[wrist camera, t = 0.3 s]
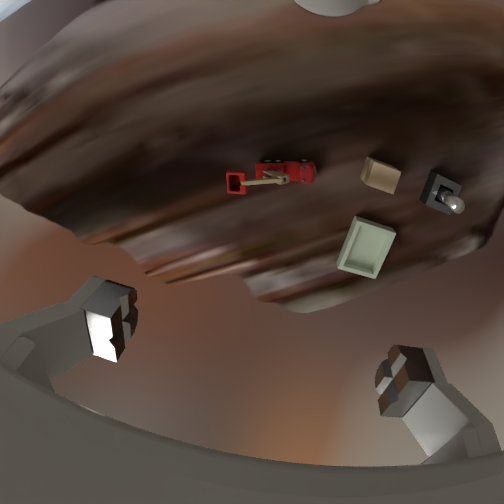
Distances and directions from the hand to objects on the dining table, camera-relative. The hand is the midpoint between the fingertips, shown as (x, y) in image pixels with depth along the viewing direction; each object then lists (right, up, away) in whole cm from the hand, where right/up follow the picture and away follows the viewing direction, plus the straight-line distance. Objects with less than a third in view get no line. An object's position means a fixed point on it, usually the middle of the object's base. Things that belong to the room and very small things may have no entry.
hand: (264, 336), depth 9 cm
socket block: (+34, +14, +41) cm, 55 cm away
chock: (+21, +17, +41) cm, 49 cm away
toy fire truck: (+4, +17, +44) cm, 47 cm away
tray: (+21, +4, +48) cm, 52 cm away
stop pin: (+34, +14, +41) cm, 55 cm away
